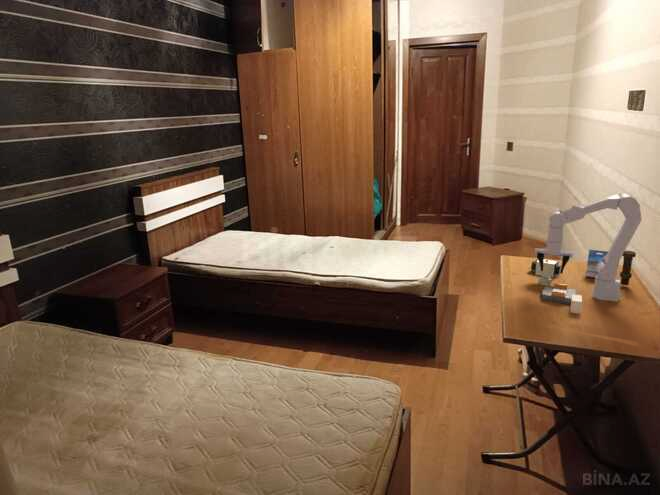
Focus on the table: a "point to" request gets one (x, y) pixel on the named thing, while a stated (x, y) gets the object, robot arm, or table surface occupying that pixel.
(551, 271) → the pneumatic valve
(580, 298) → the block
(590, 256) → the label tape cartridge
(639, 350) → the table surface
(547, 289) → the motor housing
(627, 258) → the bolt
